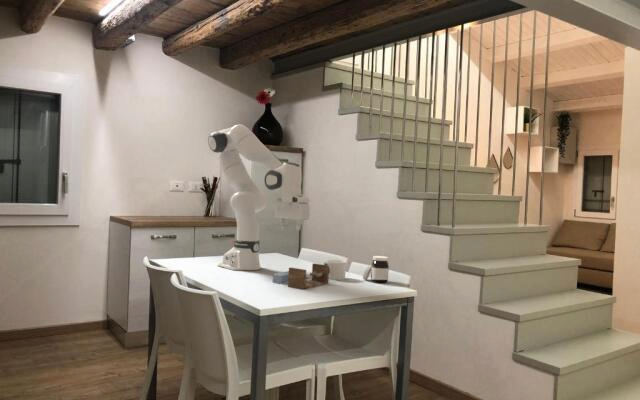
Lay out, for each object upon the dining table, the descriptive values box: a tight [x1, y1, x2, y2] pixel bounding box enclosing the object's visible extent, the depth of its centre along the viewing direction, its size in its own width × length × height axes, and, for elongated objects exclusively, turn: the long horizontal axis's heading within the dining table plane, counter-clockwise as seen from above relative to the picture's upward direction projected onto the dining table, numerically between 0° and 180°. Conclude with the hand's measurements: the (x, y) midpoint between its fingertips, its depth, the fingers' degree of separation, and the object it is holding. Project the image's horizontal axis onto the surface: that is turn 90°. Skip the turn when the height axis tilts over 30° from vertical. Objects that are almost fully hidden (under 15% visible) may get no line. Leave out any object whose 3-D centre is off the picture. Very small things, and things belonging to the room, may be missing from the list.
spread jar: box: [362, 255, 390, 284], centre depth 245 cm, size 12×11×12 cm
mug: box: [323, 258, 347, 281], centre depth 250 cm, size 13×10×8 cm
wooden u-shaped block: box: [287, 263, 330, 290], centre depth 228 cm, size 19×8×8 cm, turn 146°
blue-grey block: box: [272, 270, 289, 285], centre depth 235 cm, size 14×5×4 cm, turn 146°
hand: (290, 229), depth 236 cm, fingers open, 8 cm apart
